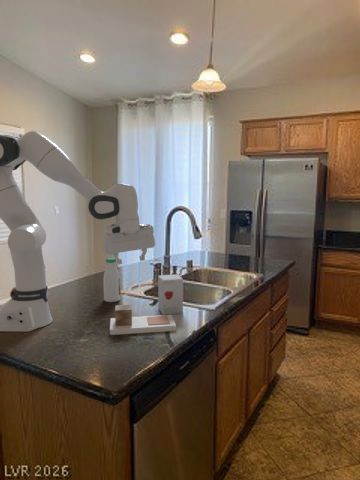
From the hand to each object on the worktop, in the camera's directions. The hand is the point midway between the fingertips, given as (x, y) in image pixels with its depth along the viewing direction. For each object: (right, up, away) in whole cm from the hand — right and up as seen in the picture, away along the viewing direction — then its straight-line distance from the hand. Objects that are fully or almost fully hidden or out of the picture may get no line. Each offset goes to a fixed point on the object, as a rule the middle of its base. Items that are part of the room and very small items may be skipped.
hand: (131, 262), depth 142 cm
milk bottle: (-13, -20, +32) cm, 40 cm away
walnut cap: (-2, -23, -3) cm, 23 cm away
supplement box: (+15, -22, +17) cm, 31 cm away
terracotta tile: (+10, -22, -1) cm, 25 cm away
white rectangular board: (+5, -25, -2) cm, 25 cm away
